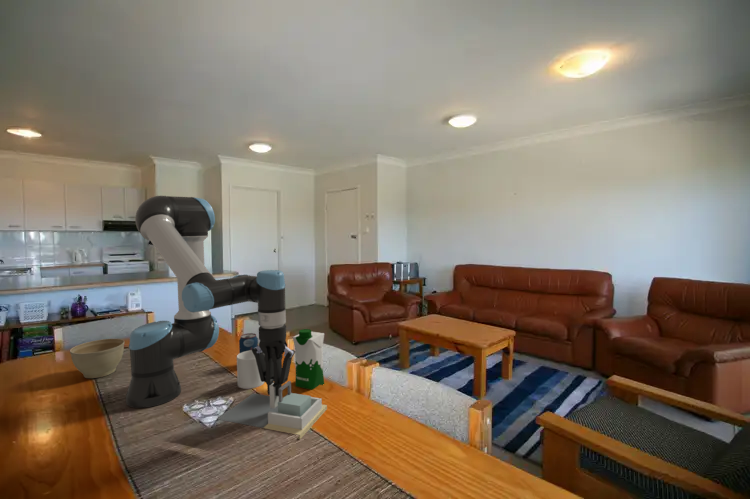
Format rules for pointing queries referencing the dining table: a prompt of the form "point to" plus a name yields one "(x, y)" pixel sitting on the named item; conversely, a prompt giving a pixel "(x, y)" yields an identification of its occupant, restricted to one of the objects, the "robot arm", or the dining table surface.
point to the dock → (273, 415)
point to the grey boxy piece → (293, 402)
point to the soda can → (247, 342)
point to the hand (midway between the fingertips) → (275, 405)
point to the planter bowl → (97, 357)
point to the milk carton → (309, 359)
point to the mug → (247, 371)
